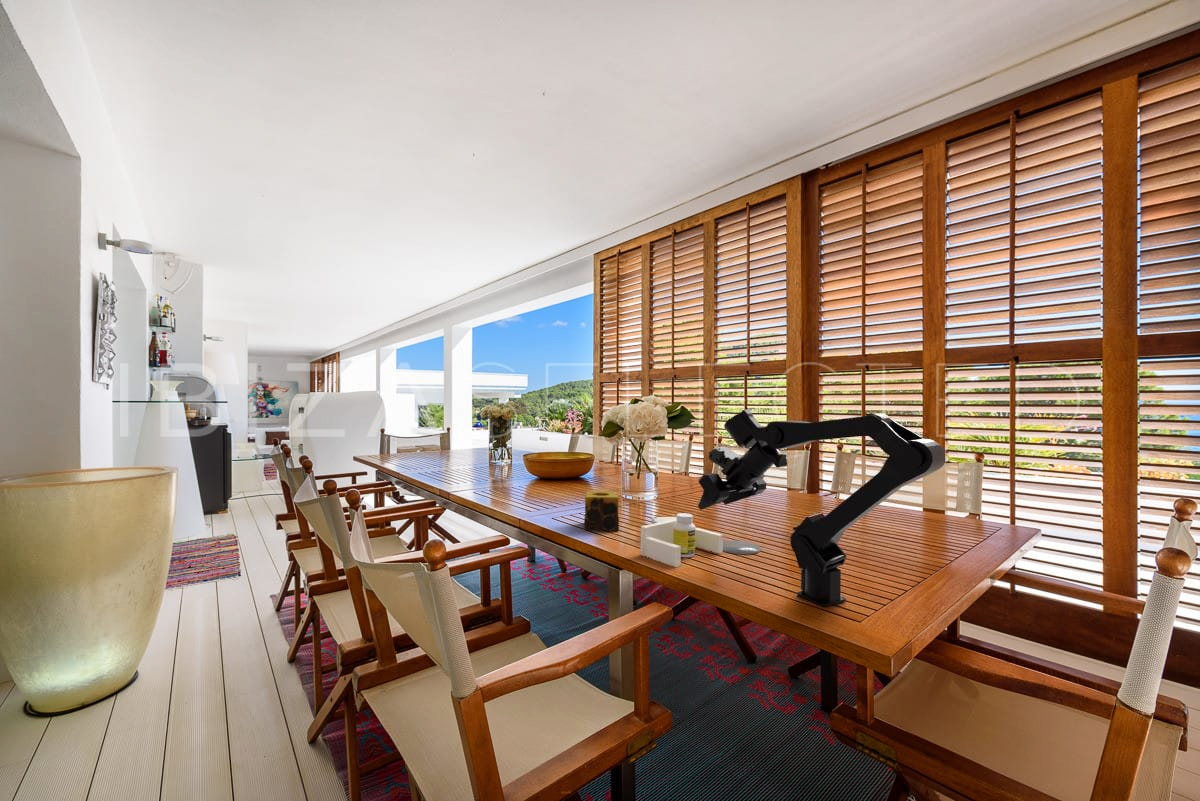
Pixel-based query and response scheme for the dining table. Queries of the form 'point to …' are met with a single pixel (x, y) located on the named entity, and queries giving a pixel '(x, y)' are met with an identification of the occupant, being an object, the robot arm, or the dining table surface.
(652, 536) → the cream u-shaped arch
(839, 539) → the robot arm
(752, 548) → the coaster
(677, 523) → the supplement bottle
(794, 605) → the dining table surface
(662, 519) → the small box
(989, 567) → the dining table surface
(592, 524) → the candle
